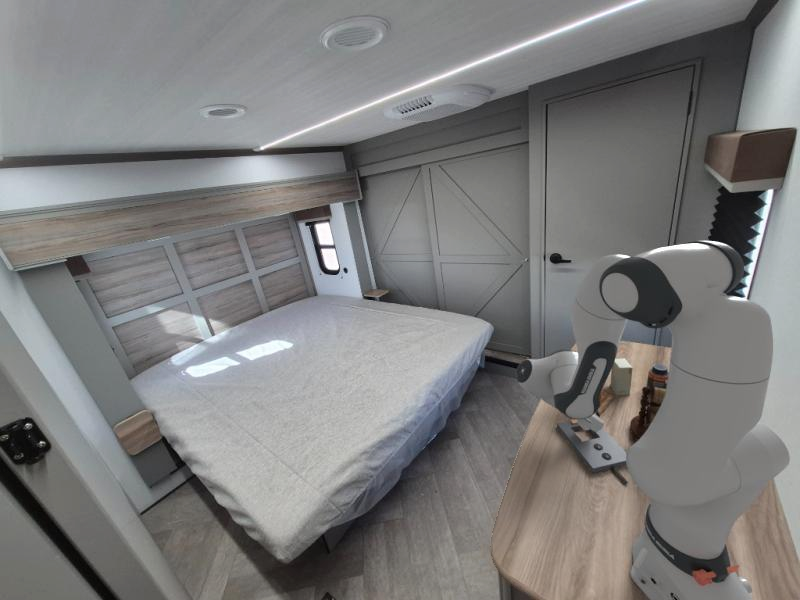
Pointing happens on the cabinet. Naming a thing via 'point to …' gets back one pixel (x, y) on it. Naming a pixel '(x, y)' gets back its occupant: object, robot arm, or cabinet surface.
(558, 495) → the cabinet surface
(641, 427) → the brown thread spool stand
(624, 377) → the skincare box
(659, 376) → the supplement bottle
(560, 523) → the cabinet surface
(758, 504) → the cabinet surface
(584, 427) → the charger plug
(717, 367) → the robot arm
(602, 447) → the power strip
